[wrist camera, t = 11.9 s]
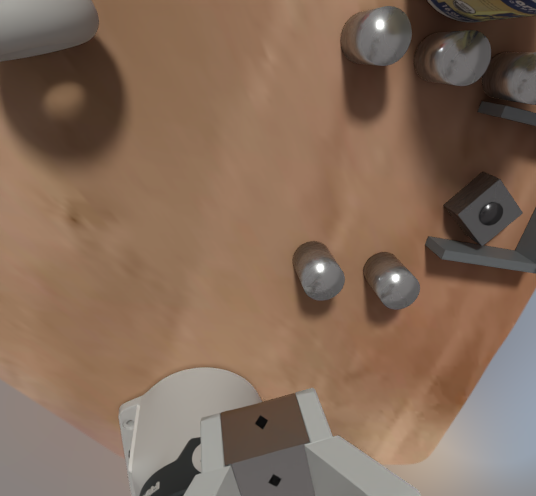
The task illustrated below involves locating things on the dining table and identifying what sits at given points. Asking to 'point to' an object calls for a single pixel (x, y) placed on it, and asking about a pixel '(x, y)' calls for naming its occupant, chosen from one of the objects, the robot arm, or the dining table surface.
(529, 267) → the tray
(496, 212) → the grey square block
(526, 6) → the supplement tub
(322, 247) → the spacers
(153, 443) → the robot arm
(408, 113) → the dining table surface
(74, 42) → the donut
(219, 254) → the dining table surface
